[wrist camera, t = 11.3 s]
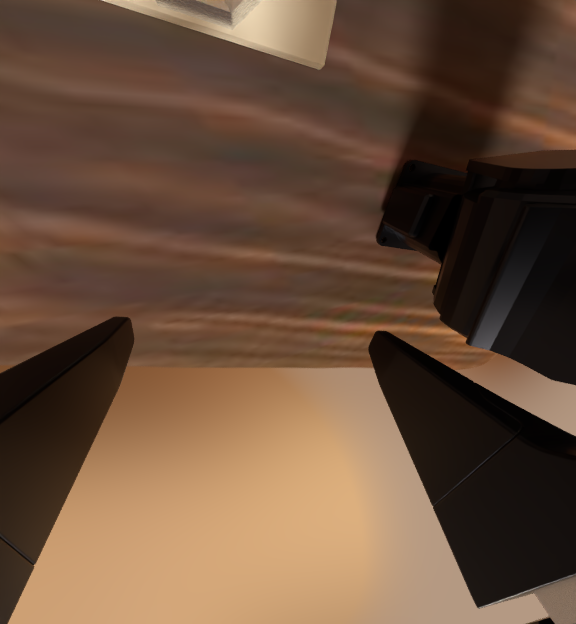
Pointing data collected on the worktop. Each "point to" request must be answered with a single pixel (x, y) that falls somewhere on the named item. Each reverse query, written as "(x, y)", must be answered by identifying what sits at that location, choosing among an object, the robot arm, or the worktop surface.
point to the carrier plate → (264, 27)
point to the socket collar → (213, 10)
